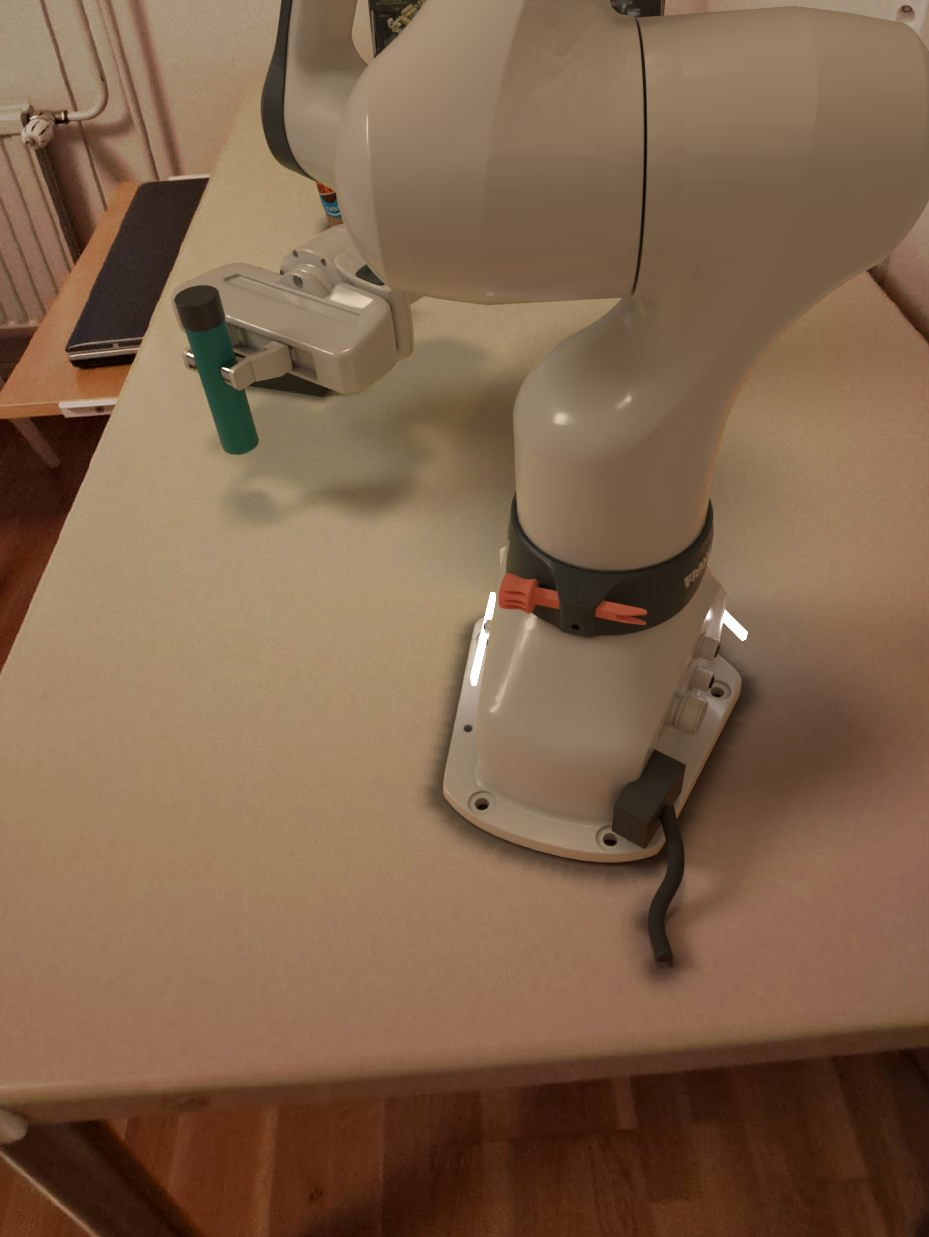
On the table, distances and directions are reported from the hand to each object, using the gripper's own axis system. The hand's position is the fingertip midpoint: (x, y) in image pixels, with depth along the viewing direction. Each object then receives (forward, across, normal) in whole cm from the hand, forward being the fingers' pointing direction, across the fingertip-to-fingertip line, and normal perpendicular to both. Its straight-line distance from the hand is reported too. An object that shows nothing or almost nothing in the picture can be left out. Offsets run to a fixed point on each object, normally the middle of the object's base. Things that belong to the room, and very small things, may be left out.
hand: (209, 371), depth 71 cm
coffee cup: (-45, -27, +13) cm, 54 cm away
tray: (-21, -14, +13) cm, 28 cm away
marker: (-1, 0, +7) cm, 7 cm away
